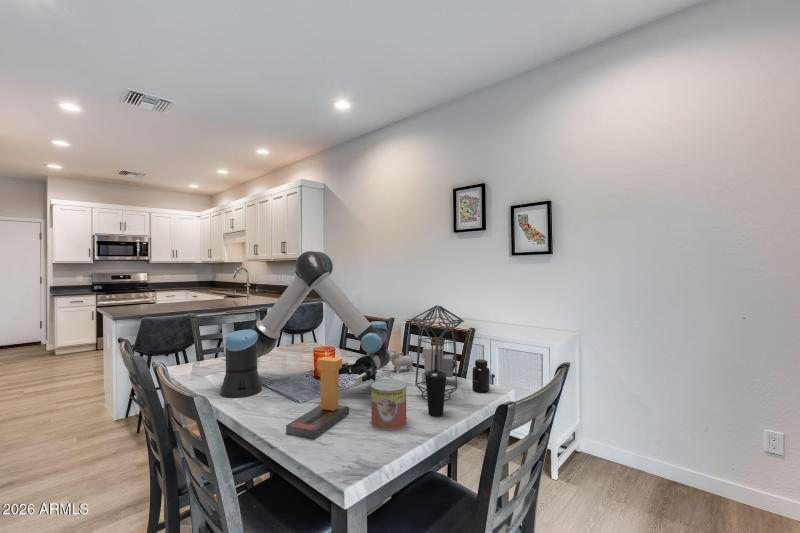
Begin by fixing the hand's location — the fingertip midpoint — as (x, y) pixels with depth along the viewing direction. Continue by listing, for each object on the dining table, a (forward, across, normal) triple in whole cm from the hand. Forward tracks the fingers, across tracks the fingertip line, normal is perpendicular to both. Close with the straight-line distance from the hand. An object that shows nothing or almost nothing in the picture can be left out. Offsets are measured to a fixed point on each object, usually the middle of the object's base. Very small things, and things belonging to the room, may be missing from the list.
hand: (338, 379), depth 132 cm
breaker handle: (+5, 0, -8) cm, 10 cm away
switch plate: (+12, 0, -11) cm, 16 cm away
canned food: (+2, -20, -11) cm, 23 cm away
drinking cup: (-10, -32, -11) cm, 35 cm away
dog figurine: (-54, -1, -11) cm, 55 cm away
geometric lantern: (-26, -27, -11) cm, 39 cm away
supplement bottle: (-40, -41, -11) cm, 59 cm away
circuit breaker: (-44, -23, -11) cm, 51 cm away
